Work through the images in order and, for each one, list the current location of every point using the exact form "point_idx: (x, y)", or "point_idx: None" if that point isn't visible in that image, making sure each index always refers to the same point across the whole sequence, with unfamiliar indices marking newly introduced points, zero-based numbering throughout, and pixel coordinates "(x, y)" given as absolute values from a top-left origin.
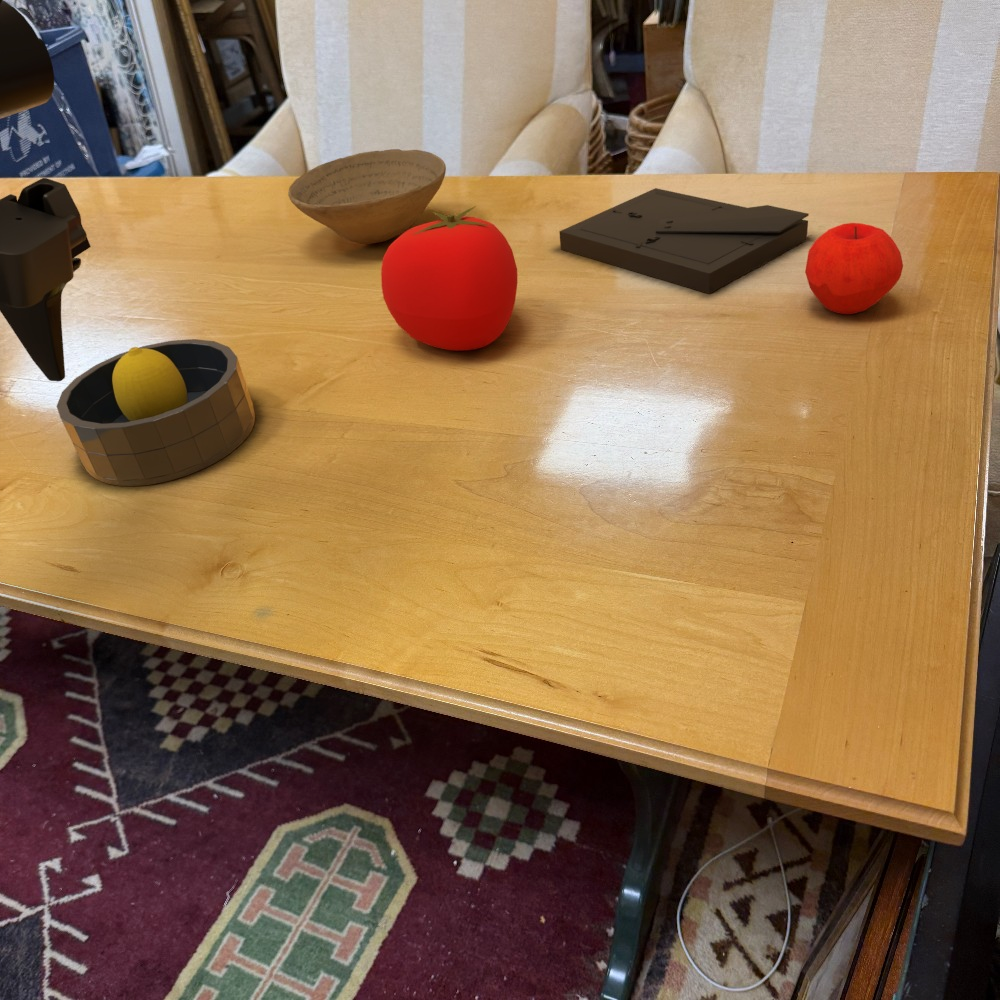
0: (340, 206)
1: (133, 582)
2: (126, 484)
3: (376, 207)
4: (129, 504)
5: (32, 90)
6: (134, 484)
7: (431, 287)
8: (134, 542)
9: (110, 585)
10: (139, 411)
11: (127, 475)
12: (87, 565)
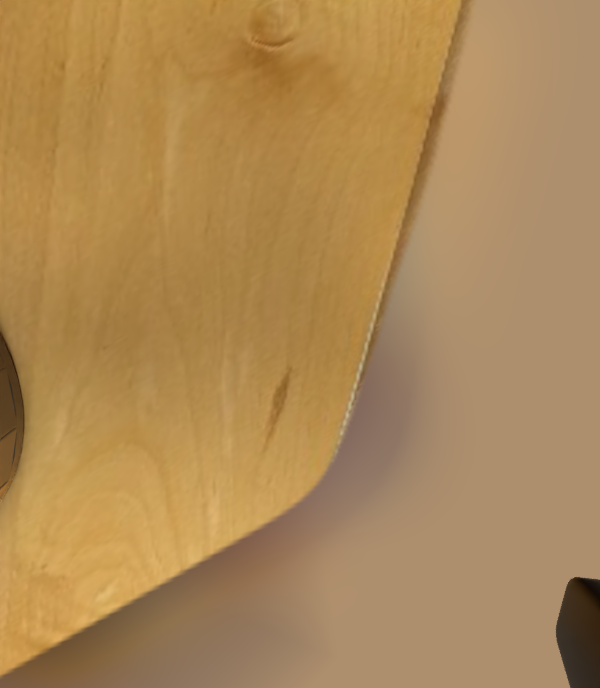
0: None
1: (317, 238)
2: (20, 409)
3: None
4: (80, 373)
5: None
6: (18, 392)
7: None
8: (197, 299)
9: (326, 284)
10: None
11: (6, 407)
12: (270, 363)
